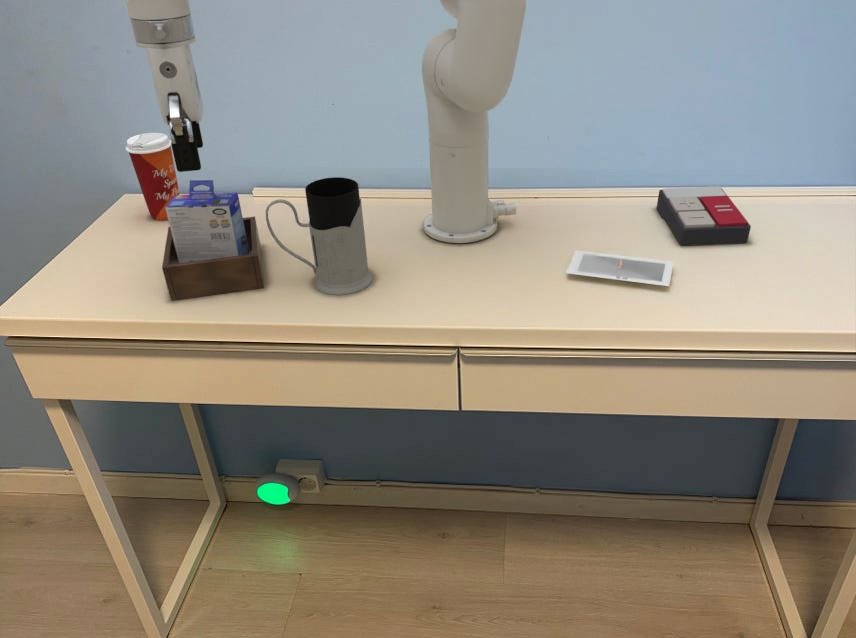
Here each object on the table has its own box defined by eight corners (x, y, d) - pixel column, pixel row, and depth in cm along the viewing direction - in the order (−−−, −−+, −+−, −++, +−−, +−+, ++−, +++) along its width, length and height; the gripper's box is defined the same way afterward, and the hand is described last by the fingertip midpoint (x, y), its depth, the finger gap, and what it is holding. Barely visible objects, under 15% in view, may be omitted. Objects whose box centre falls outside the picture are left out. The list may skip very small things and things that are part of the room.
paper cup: (175, 224, 134) (155, 146, 126) (136, 221, 135) (114, 145, 127) (196, 206, 140) (178, 132, 132) (158, 204, 141) (139, 130, 133)
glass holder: (374, 291, 111) (364, 196, 103) (277, 301, 110) (259, 205, 101) (370, 264, 119) (360, 173, 110) (279, 273, 117) (262, 181, 108)
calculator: (684, 225, 118) (659, 185, 130) (679, 249, 121) (655, 207, 133) (753, 222, 119) (721, 182, 130) (747, 246, 121) (717, 205, 133)
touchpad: (575, 256, 119) (576, 244, 118) (672, 268, 115) (674, 255, 113) (565, 279, 113) (566, 266, 111) (668, 292, 109) (670, 279, 107)
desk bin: (260, 246, 125) (255, 216, 122) (264, 288, 113) (257, 255, 110) (176, 257, 123) (168, 226, 119) (171, 300, 111) (161, 267, 108)
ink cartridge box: (253, 263, 120) (236, 176, 112) (245, 280, 116) (227, 190, 107) (192, 264, 120) (171, 178, 112) (182, 281, 116) (158, 192, 108)
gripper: (191, 42, 92) (217, 177, 101) (195, 17, 105) (218, 137, 115) (126, 46, 90) (159, 182, 100) (140, 20, 104) (167, 142, 114)
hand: (191, 158), depth 107 cm, fingers open, 9 cm apart
